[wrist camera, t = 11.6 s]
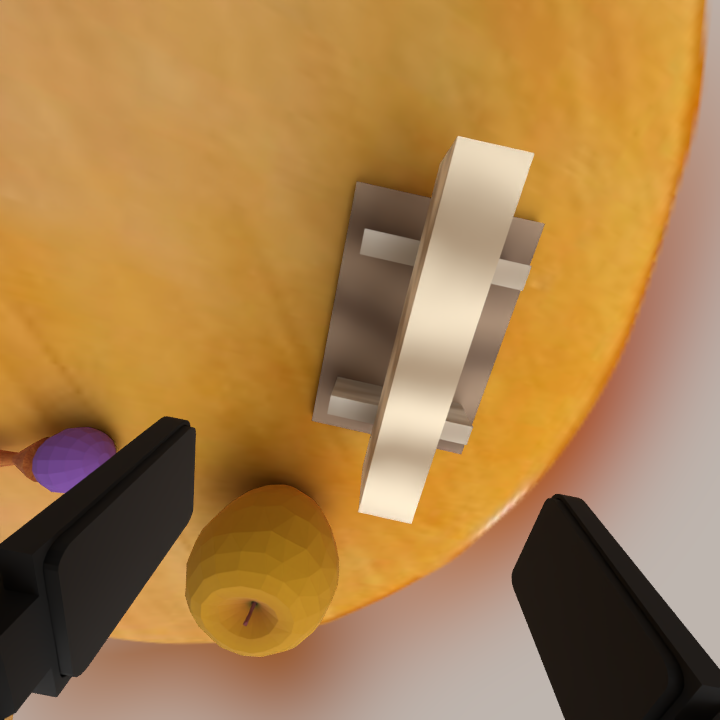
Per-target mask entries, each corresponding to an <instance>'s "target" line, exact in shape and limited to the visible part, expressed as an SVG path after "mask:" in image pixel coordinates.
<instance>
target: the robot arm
mask: <svg viewBox="0 0 720 720" xmlns="http://www.w3.org/2000/svg"><path fill="white" fill-rule="evenodd" d="M195 441H196V430H195V428H193V427H190V423H189V421H187V420H183V419H178V418H173V417H168V416H166V417H163V418H161V419H160V420H158V421H157V422H156V423H155V424H153V425H152V426H151V427H149V428H148V429H147V430H146V431H144V432H143V433H142V434H140V435H139V436H138V437H137V438H135V439H134V440H133V441H131V442H130V443H129V444H128V445H126V446H125V447H124V448H122V449H121V450H120V451H119V452H117V453H116V454H115V455H113V456H112V457H111V458H110V459H108V460H107V461H106V462H104V463H103V464H102V465H101V466H99V467H98V468H97V469H96V470H94V471H93V472H92V473H90V474H89V475H88V476H87V477H85V478H84V479H83V480H81V481H80V482H79V483H78V484H76V485H75V486H74V487H72V488H71V489H70V490H69V491H67V492H66V493H65V494H63V495H62V496H61V497H60V498H58V499H57V500H56V501H54V502H53V503H52V504H51V505H49V506H48V507H47V508H45V509H44V510H43V511H42V512H40V513H39V514H38V515H36V516H35V517H34V518H33V519H31V520H30V521H29V522H28V523H26V524H25V525H24V526H22V527H21V528H20V529H19V530H17V531H16V532H15V533H13V534H12V535H11V536H10V537H8V538H7V539H6V540H4V541H3V542H2V543H1V544H0V720H12V719H13V714H14V713H16V712H17V711H18V709H19V708H20V707H21V705H22V704H23V703H24V702H25V700H26V699H27V697H28V696H29V695H30V694H31V693H37V694H42V695H47V696H52V697H57V696H58V695H59V694H60V692H61V691H62V690H63V688H64V687H65V685H66V684H67V683H68V681H69V680H70V678H71V677H78V676H79V675H81V674H82V672H84V671H85V670H86V668H87V667H88V666H89V664H90V663H91V662H92V660H93V659H94V657H95V656H96V654H97V653H98V652H99V650H100V649H101V647H102V646H103V644H104V643H105V641H106V640H107V639H108V637H109V636H110V634H111V633H112V631H113V630H114V629H115V627H116V626H117V624H118V623H119V621H120V620H121V619H122V617H123V616H124V614H125V613H126V611H127V610H128V608H129V607H130V606H131V604H132V603H133V601H134V600H135V598H136V597H137V596H138V594H139V593H140V591H141V590H142V588H143V587H144V586H145V584H146V583H147V581H148V580H149V578H150V577H151V575H152V574H153V573H154V571H155V570H156V568H157V567H158V565H159V564H160V563H161V561H162V560H163V558H164V557H165V555H166V554H167V553H168V551H169V550H170V548H171V547H172V545H173V544H174V542H175V541H176V540H177V538H178V537H179V535H180V534H181V532H182V531H183V530H184V528H185V527H186V525H187V524H188V522H189V520H190V518H191V515H192V512H193V499H194V470H195ZM512 585H513V588H514V591H515V593H516V596H517V599H518V601H519V604H520V606H521V609H522V611H523V614H524V616H525V619H526V622H527V624H528V627H529V629H530V632H531V634H532V637H533V639H534V642H535V644H536V647H537V649H538V652H539V654H540V657H541V660H542V662H543V665H544V667H545V670H546V672H547V675H548V678H549V680H550V683H551V685H552V688H553V690H554V693H555V695H556V698H557V701H558V703H559V706H560V708H561V711H562V713H563V716H564V718H565V720H720V669H719V668H718V666H717V665H716V664H715V663H714V662H713V660H712V659H711V658H710V657H709V655H708V654H707V653H706V652H705V650H704V649H703V648H702V647H701V646H700V644H699V643H698V642H697V640H696V639H695V638H694V637H693V636H692V634H691V633H690V632H689V631H688V630H687V628H686V627H685V626H684V624H683V623H682V622H681V621H680V620H679V618H678V617H677V616H676V614H675V613H674V612H673V611H672V609H671V608H670V607H669V606H668V604H667V603H666V602H665V601H664V600H663V598H662V597H661V596H660V595H659V593H658V592H657V591H656V590H655V588H654V587H653V586H652V585H651V583H650V582H649V581H648V580H647V579H646V577H645V576H644V575H643V574H642V572H641V571H640V570H639V569H638V567H637V566H636V565H635V564H634V562H633V561H632V560H631V559H630V557H629V556H628V555H627V554H626V552H625V551H624V550H623V549H622V547H621V546H620V545H619V544H618V543H617V541H616V540H615V539H614V538H613V536H612V535H611V534H610V533H609V532H608V530H607V529H606V528H605V526H604V525H603V524H602V523H601V521H600V520H599V519H598V518H597V517H596V515H595V514H594V513H593V512H592V510H591V509H590V508H589V507H588V505H587V504H586V503H585V502H584V501H583V500H582V499H580V498H577V497H572V496H566V495H561V494H555V495H554V496H552V498H548V499H547V500H546V501H545V503H544V505H543V507H542V509H541V511H540V514H539V515H538V518H537V520H536V522H535V524H534V526H533V529H532V531H531V533H530V535H529V537H528V539H527V541H526V543H525V546H524V548H523V550H522V552H521V554H520V556H519V558H518V561H517V563H516V565H515V567H514V569H513V572H512Z"/></svg>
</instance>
